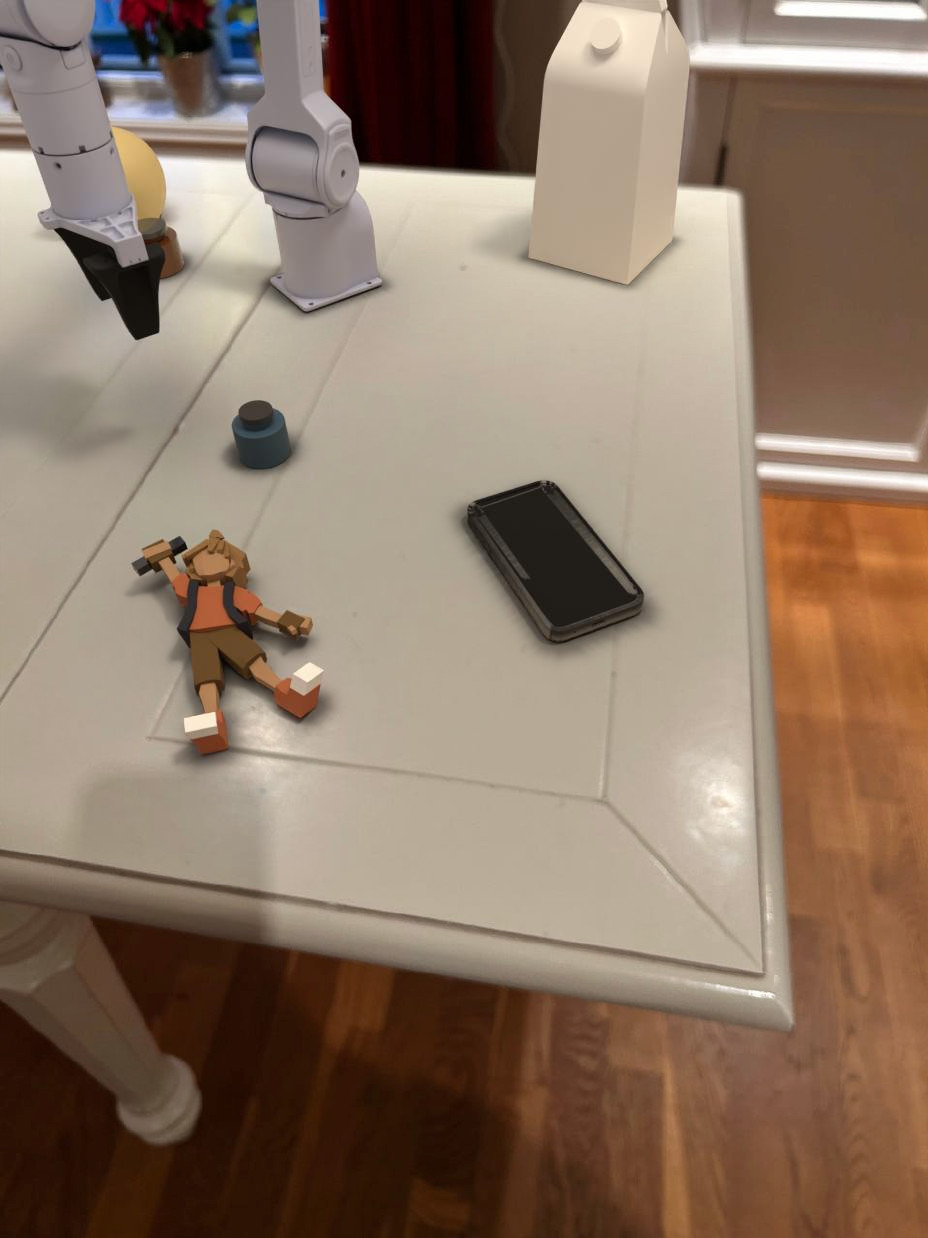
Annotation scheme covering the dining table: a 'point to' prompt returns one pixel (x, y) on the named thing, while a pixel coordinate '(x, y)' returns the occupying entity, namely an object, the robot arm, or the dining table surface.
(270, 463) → the slate bottle
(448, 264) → the dining table surface
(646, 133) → the milk
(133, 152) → the sculpture
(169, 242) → the brown cup
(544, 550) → the phone
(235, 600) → the character figurine
